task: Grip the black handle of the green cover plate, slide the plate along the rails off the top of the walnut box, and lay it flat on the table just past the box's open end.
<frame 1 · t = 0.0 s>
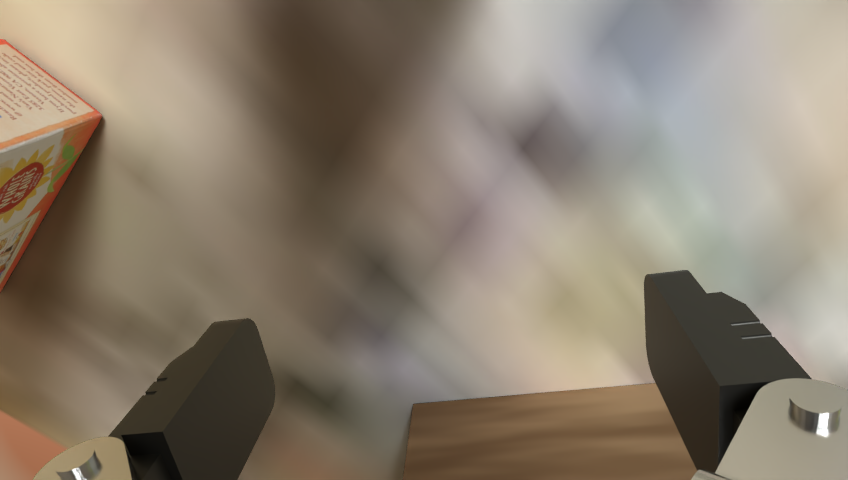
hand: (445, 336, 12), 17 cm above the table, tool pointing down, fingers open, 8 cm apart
cracker box: (3, 176, 31), on the table
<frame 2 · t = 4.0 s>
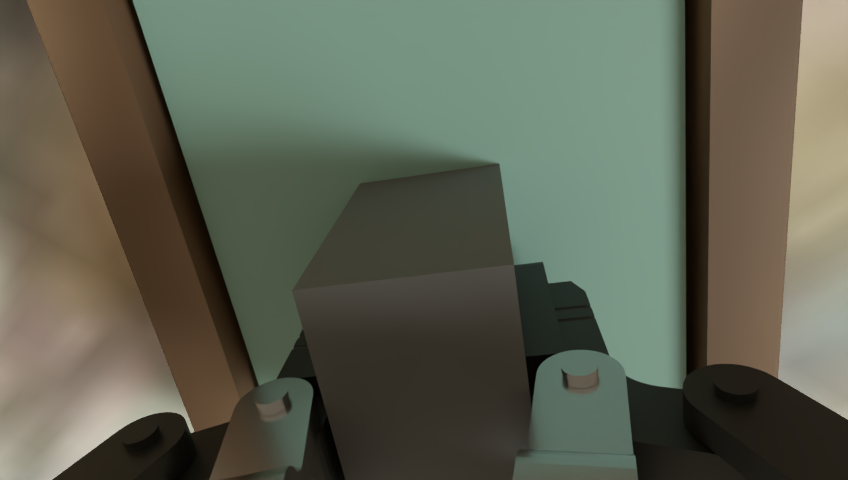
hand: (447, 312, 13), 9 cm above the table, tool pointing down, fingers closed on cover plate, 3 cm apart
lid box: (455, 173, 20), on the table
cover plate: (451, 279, 14), point 7 cm above the table, touching gripper, lid box
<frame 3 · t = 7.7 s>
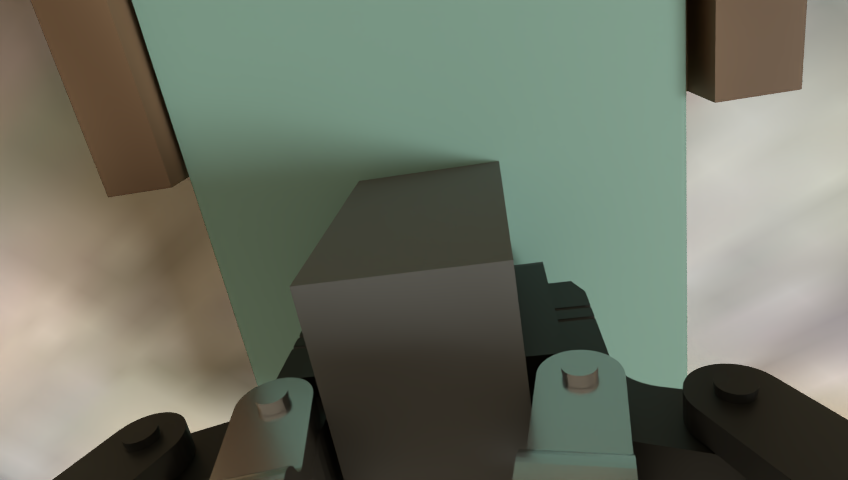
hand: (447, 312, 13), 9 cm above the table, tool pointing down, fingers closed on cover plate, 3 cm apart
cover plate: (451, 277, 14), point 7 cm above the table, touching gripper
when the fingers open (3 cm above the table, at t = 11.5 s): cover plate drops 2 cm, on the table.
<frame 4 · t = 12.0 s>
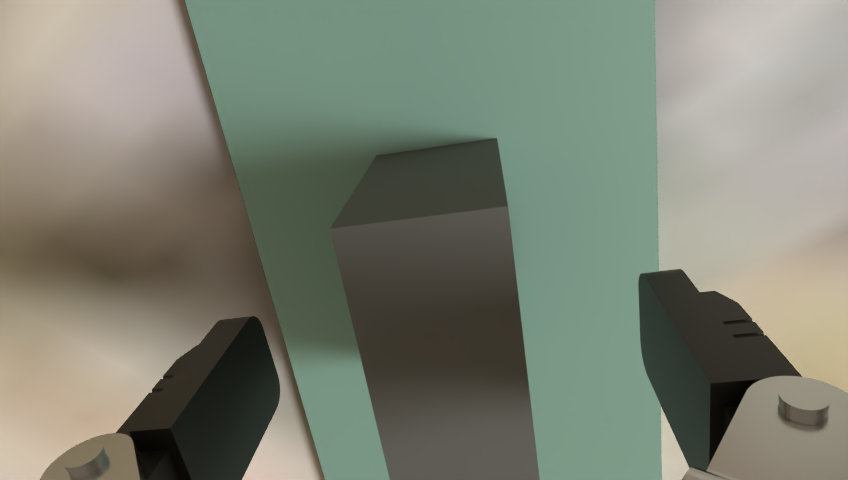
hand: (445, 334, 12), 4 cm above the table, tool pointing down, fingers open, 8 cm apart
cover plate: (454, 243, 16), on the table
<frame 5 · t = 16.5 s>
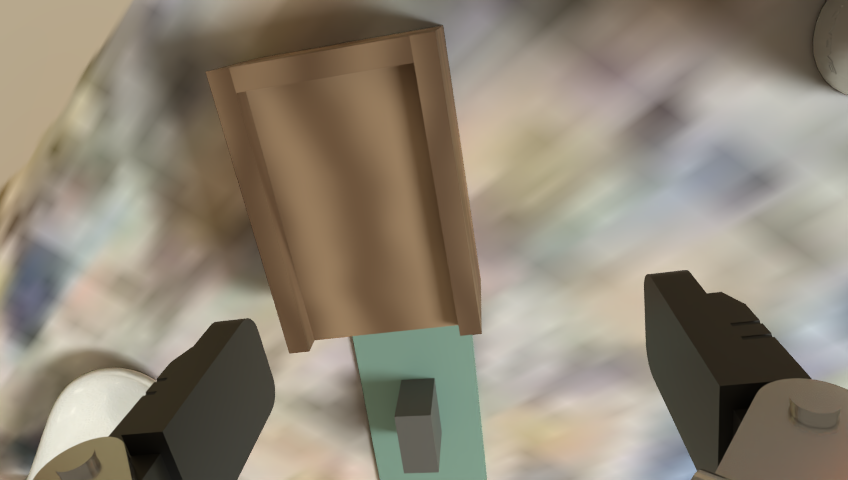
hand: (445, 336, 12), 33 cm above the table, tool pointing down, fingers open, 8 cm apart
lid box: (374, 175, 45), on the table
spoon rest: (109, 432, 58), on the table
cover plate: (422, 399, 54), on the table
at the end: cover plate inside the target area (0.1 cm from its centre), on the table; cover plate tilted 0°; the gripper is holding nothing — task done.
